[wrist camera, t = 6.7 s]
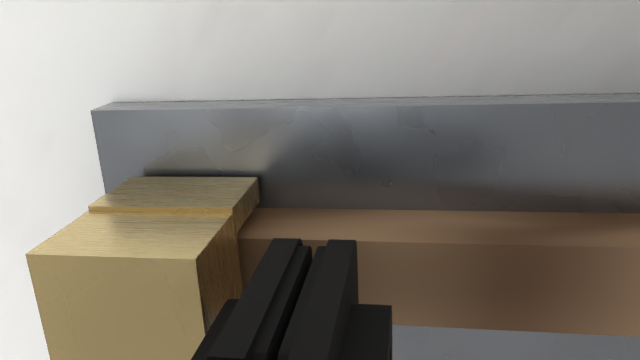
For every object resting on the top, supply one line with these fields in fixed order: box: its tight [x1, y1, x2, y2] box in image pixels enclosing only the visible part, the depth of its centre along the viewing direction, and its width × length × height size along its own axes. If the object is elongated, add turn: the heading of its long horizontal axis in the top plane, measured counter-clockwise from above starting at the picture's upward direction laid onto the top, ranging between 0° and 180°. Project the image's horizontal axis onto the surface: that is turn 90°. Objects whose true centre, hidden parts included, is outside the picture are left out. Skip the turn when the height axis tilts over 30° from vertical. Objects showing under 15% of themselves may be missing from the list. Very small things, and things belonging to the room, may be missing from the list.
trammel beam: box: [236, 208, 640, 337], centre depth 13 cm, size 21×7×2 cm, turn 93°
